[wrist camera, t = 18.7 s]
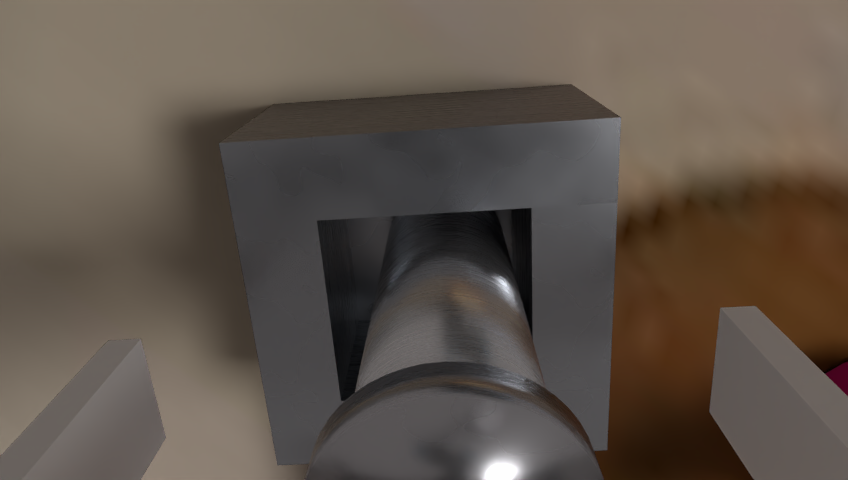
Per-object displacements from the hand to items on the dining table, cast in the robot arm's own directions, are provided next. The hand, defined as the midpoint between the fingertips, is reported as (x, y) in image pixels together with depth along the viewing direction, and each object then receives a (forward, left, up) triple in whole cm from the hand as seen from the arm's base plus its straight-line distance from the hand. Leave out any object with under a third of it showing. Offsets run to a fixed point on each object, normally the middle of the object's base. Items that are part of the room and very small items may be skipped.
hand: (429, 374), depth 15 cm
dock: (+6, 0, -9) cm, 11 cm away
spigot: (0, 0, -8) cm, 8 cm away
